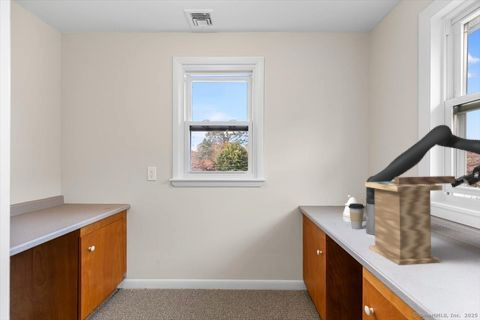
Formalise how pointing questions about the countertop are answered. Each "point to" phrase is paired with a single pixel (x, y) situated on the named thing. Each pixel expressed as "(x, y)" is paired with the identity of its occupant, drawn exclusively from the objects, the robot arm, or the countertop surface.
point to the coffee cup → (356, 215)
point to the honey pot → (347, 211)
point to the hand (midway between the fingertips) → (460, 184)
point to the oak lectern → (403, 222)
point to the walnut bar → (424, 180)
